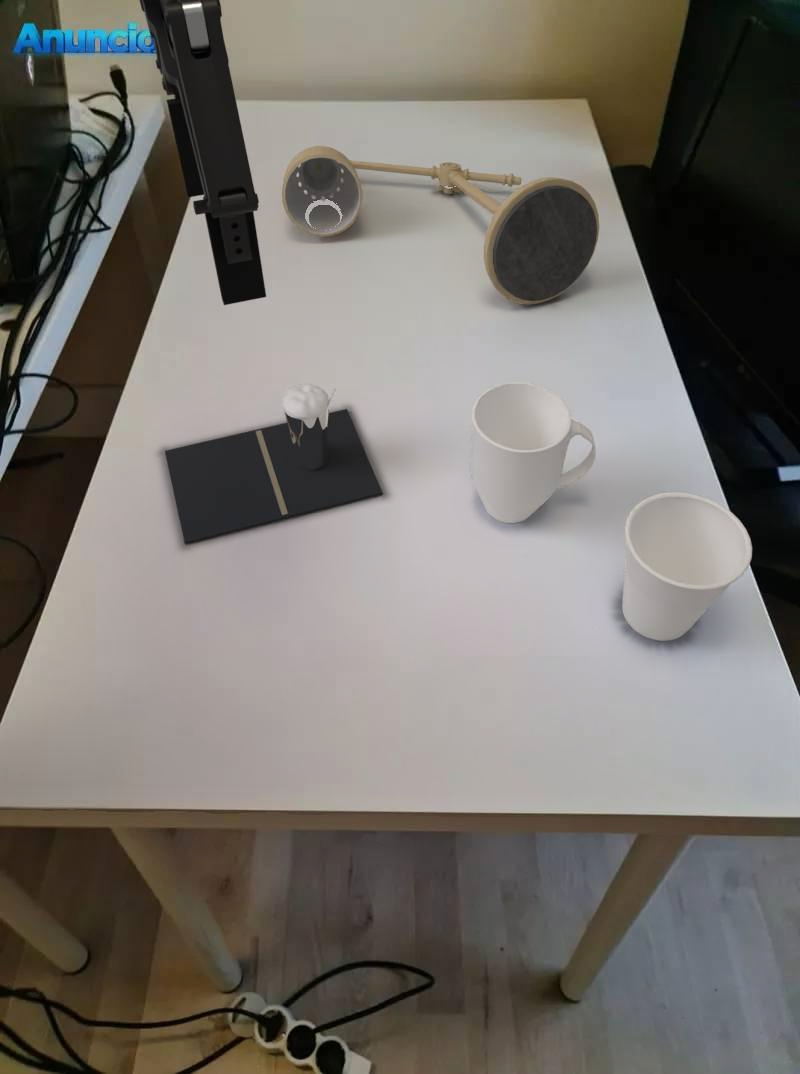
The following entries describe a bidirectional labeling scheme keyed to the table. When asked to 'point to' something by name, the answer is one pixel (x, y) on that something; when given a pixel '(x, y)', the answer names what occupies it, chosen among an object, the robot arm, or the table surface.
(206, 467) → the desk mat
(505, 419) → the mug
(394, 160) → the table surface
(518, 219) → the desk lamp
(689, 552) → the cup
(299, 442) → the milkshake
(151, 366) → the table surface
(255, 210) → the robot arm
